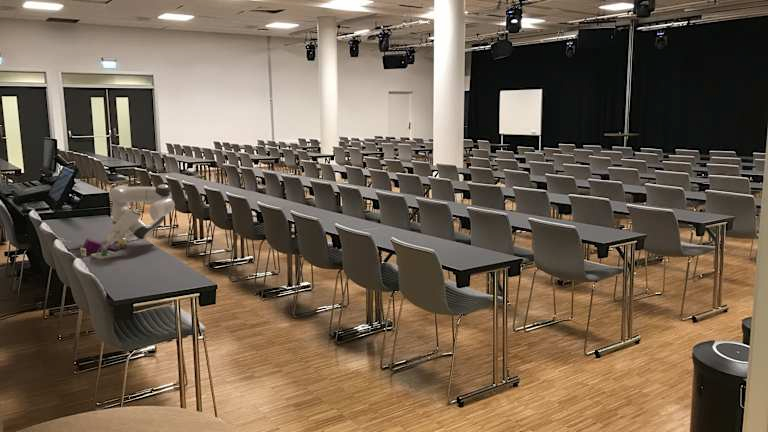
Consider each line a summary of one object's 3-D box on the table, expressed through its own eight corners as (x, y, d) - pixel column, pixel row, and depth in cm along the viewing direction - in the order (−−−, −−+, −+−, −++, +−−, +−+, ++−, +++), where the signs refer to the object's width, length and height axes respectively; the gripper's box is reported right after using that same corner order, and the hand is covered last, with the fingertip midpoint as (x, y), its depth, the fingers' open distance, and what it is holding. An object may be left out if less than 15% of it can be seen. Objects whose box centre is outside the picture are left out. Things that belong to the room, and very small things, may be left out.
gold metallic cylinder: (124, 247, 436) (123, 237, 434) (127, 248, 433) (127, 238, 432) (117, 248, 432) (117, 238, 431) (121, 249, 429) (120, 239, 428)
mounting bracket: (109, 258, 429) (81, 249, 420) (114, 247, 430) (87, 237, 421) (110, 261, 421) (83, 252, 412) (116, 249, 422) (88, 240, 413)
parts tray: (108, 253, 417) (108, 250, 417) (118, 256, 410) (118, 253, 410) (90, 256, 408) (90, 254, 408) (100, 259, 401) (100, 256, 400)
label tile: (81, 255, 413) (81, 247, 412) (86, 256, 409) (86, 248, 408) (80, 255, 412) (80, 247, 412) (85, 256, 409) (85, 248, 408)
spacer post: (106, 254, 412) (105, 240, 410) (109, 255, 409) (108, 241, 408) (100, 255, 409) (99, 241, 407) (103, 256, 406) (102, 242, 405)
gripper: (123, 235, 402) (107, 252, 399) (122, 230, 420) (107, 246, 418) (115, 229, 399) (99, 246, 397) (115, 224, 418) (99, 240, 416)
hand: (103, 246), depth 408 cm, fingers open, 8 cm apart
